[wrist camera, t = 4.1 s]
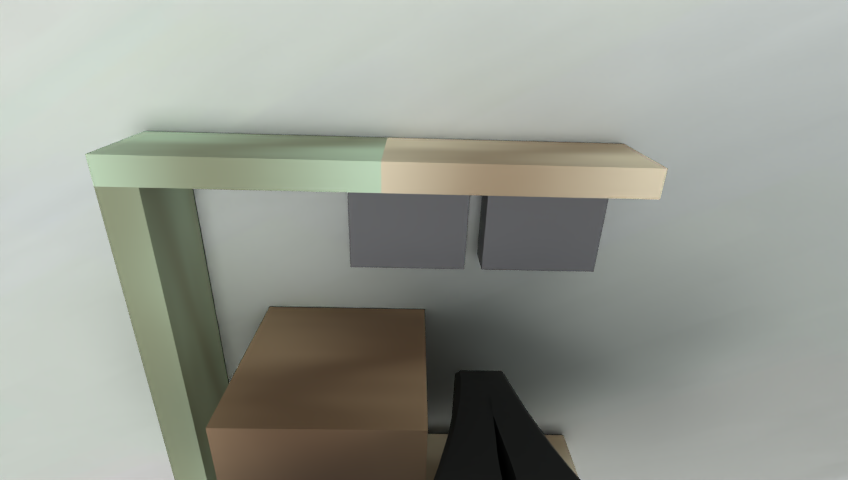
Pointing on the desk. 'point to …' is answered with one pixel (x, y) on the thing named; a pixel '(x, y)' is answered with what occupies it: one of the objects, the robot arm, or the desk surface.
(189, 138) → the green beige u-shaped frame
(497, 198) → the tiles
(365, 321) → the block
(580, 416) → the desk surface
